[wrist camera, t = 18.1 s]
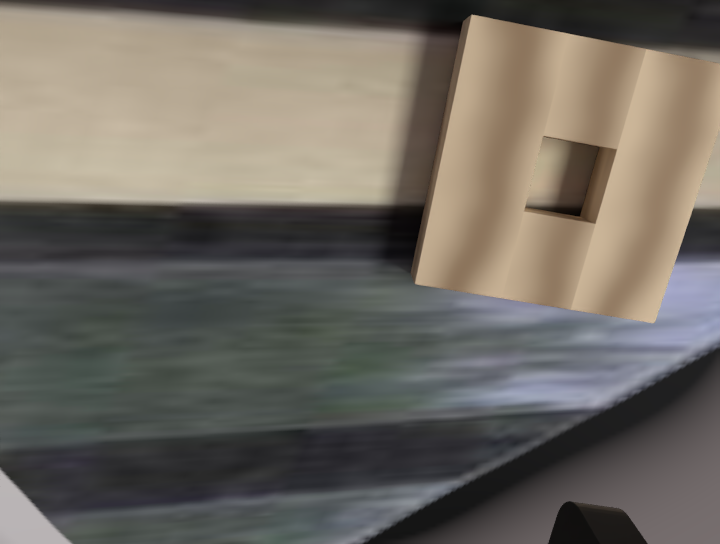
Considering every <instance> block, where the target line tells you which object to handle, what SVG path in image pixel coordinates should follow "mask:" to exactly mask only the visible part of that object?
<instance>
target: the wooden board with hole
mask: <svg viewBox="0 0 720 544" xmlns="http://www.w3.org/2000/svg"><path fill="white" fill-rule="evenodd" d="M719 129H720V64H719V63H714V62H709V61H704V60H699V59H694V58H688V57H683V56H678V55H673V54H668V53H663V52H658V51H653V50H648V49H643V48H638V47H633V46H628V45H623V44H618V43H612V42H607V41H602V40H597V39H592V38H587V37H582V36H577V35H572V34H567V33H562V32H557V31H552V30H547V29H542V28H537V27H531V26H526V25H521V24H516V23H511V22H506V21H501V20H496V19H491V18H486V17H481V16H476V15H471V16H469V17H468V18H467V19H466V20H464V21H463V24H462V29H461V33H460V38H459V43H458V48H457V53H456V58H455V62H454V67H453V72H452V77H451V82H450V86H449V91H448V96H447V101H446V106H445V111H444V115H443V120H442V125H441V130H440V135H439V139H438V144H437V149H436V154H435V159H434V164H433V168H432V173H431V178H430V183H429V188H428V192H427V197H426V202H425V207H424V212H423V216H422V221H421V226H420V231H419V236H418V241H417V245H416V250H415V255H414V260H413V265H412V269H411V275H412V278H413V280H414V283H415V284H418V285H424V286H430V287H436V288H442V289H448V290H454V291H461V292H467V293H473V294H479V295H485V296H491V297H497V298H503V299H509V300H516V301H522V302H528V303H534V304H540V305H546V306H552V307H558V308H564V309H570V310H577V311H583V312H589V313H595V314H601V315H607V316H613V317H619V318H625V319H631V320H638V321H644V322H650V323H655V321H656V318H657V315H658V312H659V309H660V306H661V303H662V300H663V297H664V294H665V291H666V288H667V285H668V282H669V279H670V276H671V273H672V270H673V267H674V264H675V261H676V258H677V255H678V252H679V249H680V246H681V243H682V240H683V237H684V234H685V231H686V228H687V225H688V222H689V219H690V216H691V213H692V210H693V207H694V204H695V201H696V198H697V195H698V192H699V189H700V186H701V183H702V180H703V177H704V174H705V171H706V168H707V165H708V162H709V159H710V156H711V153H712V150H713V147H714V144H715V141H716V138H717V135H718V132H719ZM543 137H549V138H554V139H560V140H565V141H571V142H576V143H581V144H587V145H592V146H598V147H599V151H598V154H597V158H596V161H595V165H594V168H593V172H592V175H591V179H590V183H589V186H588V190H587V193H586V197H585V200H584V204H583V207H582V211H581V214H580V217H578V216H573V215H567V214H561V213H555V212H550V211H544V210H538V209H533V208H527V207H525V206H526V202H527V198H528V194H529V190H530V186H531V182H532V178H533V174H534V170H535V166H536V163H537V159H538V155H539V151H540V147H541V143H542V139H543Z"/></svg>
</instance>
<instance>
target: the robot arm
mask: <svg viewBox="0 0 720 544" xmlns="http://www.w3.org/2000/svg"><path fill="white" fill-rule="evenodd" d="M548 544H647V542H646V541H645V539H644V538H643V536H642V535H641V534H640V532H639V531H638V529H637V528H636V526H635V525H634V524H633V522H632V521H631V519H630V518H629V516H628V515H627V514H626V513H625V512H624V511H623V510H621V509H619V508H613V507H605V506H598V505H591V504H584V503H577V502H570V501H569V502H566V503H564V504H563V505H562V507H561V508H560V510H559V512H558V515H557V517H556V521H555V524H554V527H553V530H552V533H551V537H550V540H549V543H548Z"/></svg>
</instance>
